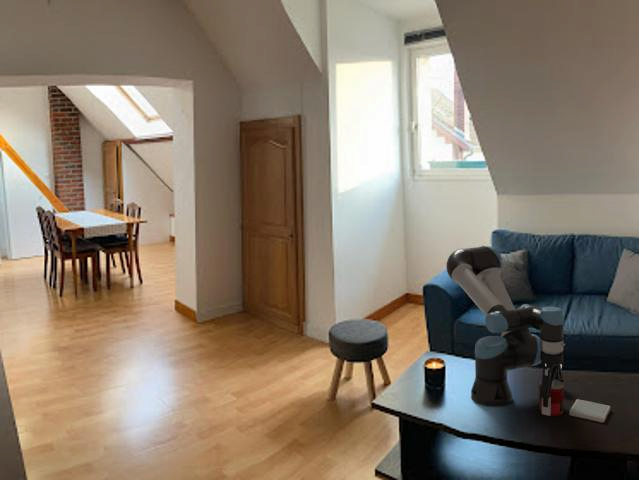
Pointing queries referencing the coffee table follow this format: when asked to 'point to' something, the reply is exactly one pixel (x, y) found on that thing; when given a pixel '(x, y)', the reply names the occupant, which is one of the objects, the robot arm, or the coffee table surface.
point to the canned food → (555, 398)
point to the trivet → (590, 410)
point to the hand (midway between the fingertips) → (551, 406)
